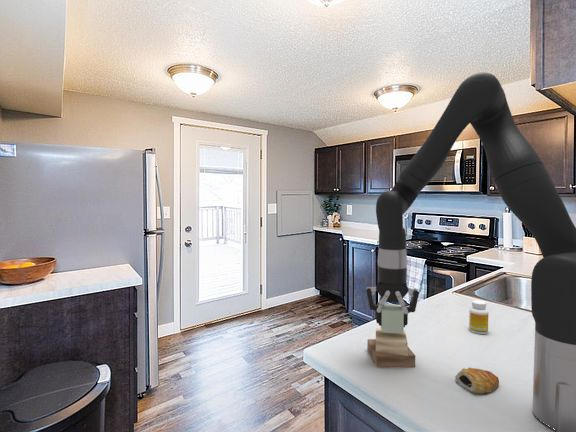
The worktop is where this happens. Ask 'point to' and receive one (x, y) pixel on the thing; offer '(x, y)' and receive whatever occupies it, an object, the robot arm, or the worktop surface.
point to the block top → (391, 343)
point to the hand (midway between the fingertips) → (391, 325)
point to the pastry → (477, 380)
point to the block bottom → (390, 357)
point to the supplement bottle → (478, 317)
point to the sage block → (392, 319)
